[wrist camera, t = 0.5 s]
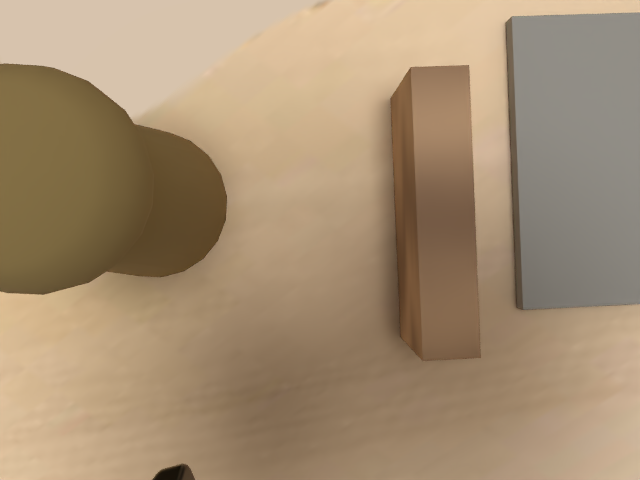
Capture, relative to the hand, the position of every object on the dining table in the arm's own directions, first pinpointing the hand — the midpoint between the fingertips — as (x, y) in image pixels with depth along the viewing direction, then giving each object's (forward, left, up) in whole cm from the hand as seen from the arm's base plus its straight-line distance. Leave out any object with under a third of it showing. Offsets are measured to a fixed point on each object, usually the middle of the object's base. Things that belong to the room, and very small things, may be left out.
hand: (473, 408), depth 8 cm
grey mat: (+5, -12, -13) cm, 19 cm away
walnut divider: (+3, -2, -13) cm, 14 cm away
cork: (+4, +9, -14) cm, 17 cm away
